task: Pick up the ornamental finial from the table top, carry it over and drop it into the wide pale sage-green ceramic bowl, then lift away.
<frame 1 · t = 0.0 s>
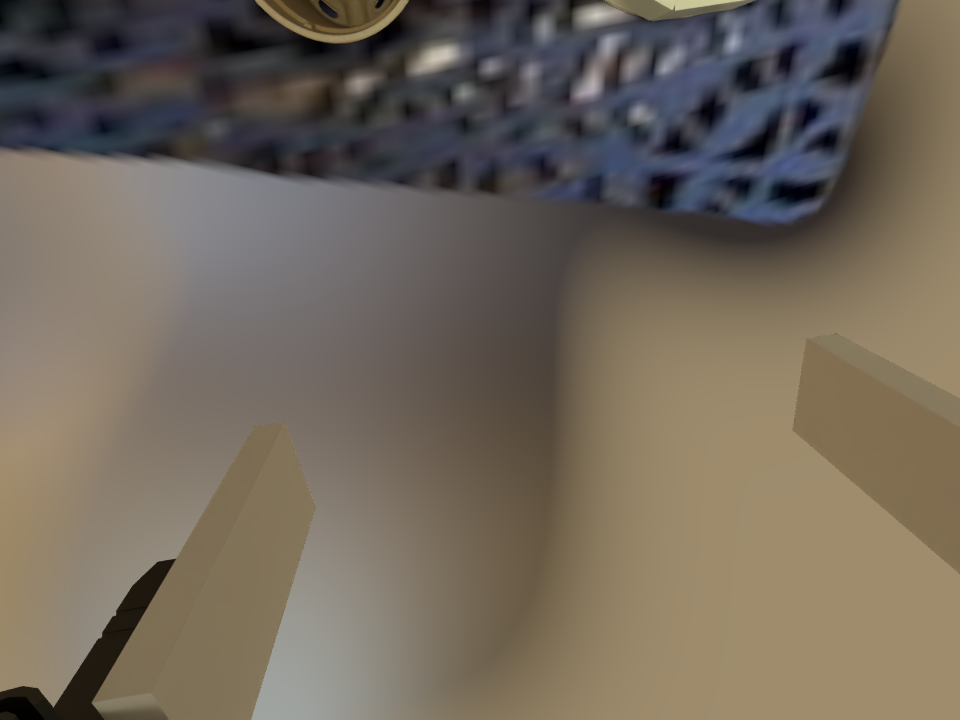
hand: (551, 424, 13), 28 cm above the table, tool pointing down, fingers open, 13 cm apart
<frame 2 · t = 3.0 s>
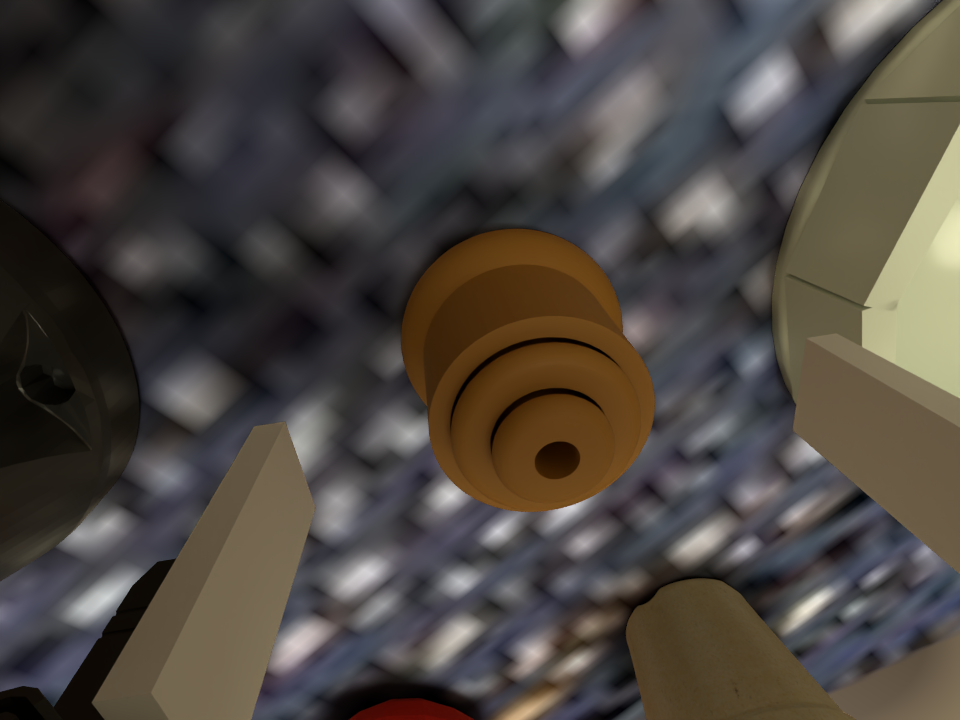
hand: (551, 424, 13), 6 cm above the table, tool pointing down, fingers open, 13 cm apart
ornamental finial: (506, 325, 19), on the table
flower pot: (682, 614, 27), on the table
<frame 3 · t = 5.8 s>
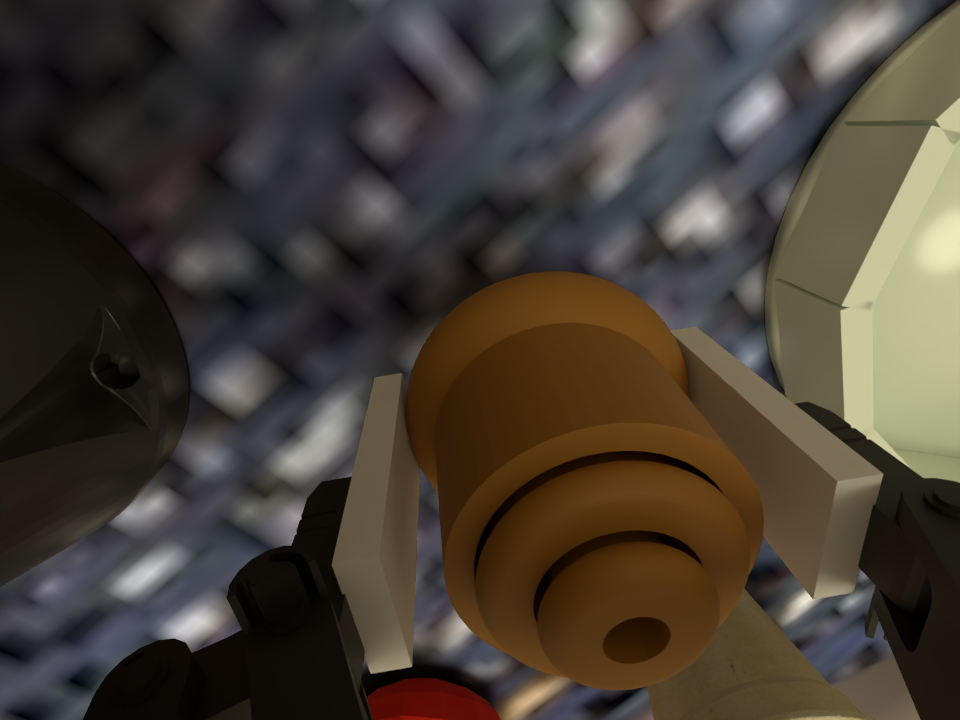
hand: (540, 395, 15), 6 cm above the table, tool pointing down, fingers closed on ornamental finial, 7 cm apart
ornamental finial: (536, 384, 15), point 6 cm above the table, touching gripper
tomato: (414, 714, 30), on the table
flower pot: (685, 602, 28), on the table
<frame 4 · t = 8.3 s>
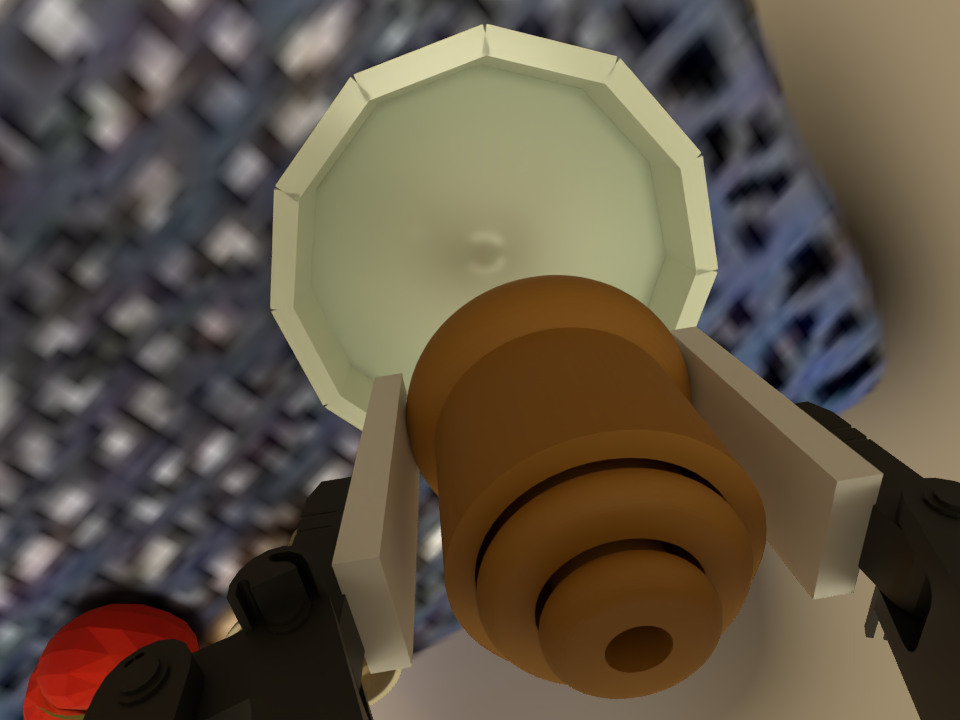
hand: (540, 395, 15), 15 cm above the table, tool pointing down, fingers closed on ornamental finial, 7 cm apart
ornamental finial: (537, 388, 15), point 14 cm above the table, touching gripper
tomato: (143, 637, 38), on the table
bowl: (489, 265, 28), on the table
flower pot: (340, 541, 35), on the table
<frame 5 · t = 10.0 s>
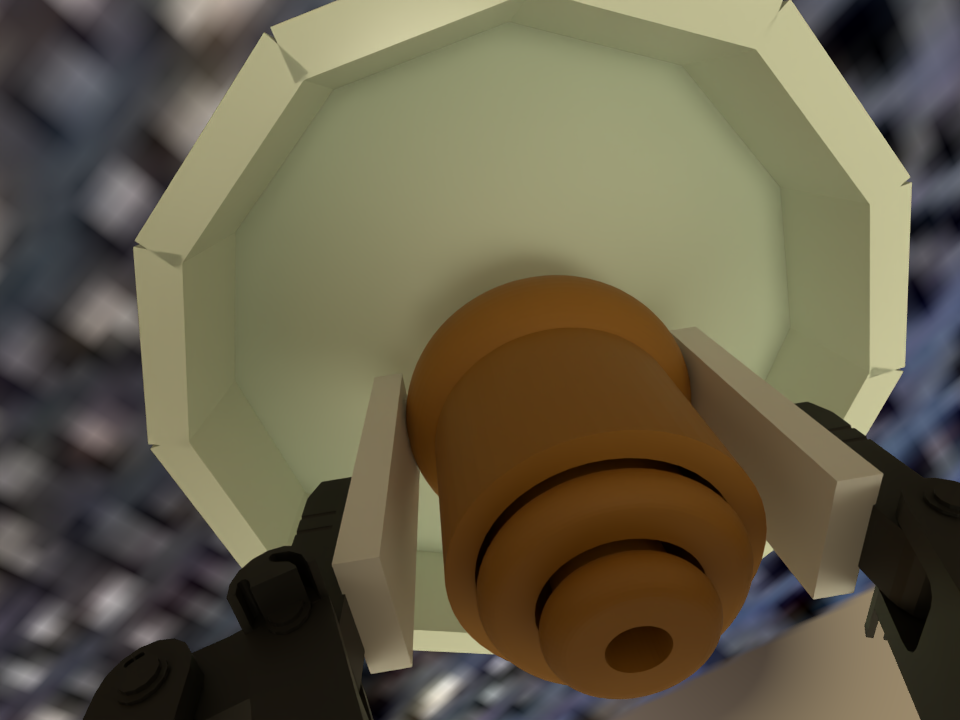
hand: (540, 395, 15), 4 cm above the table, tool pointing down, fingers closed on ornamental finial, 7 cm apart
ornamental finial: (537, 388, 15), point 3 cm above the table, touching gripper
bowl: (515, 341, 18), on the table
when the fingers open (2 cm above the table, at t = 11.2 s): ornamental finial stays where it is, resting on bowl.
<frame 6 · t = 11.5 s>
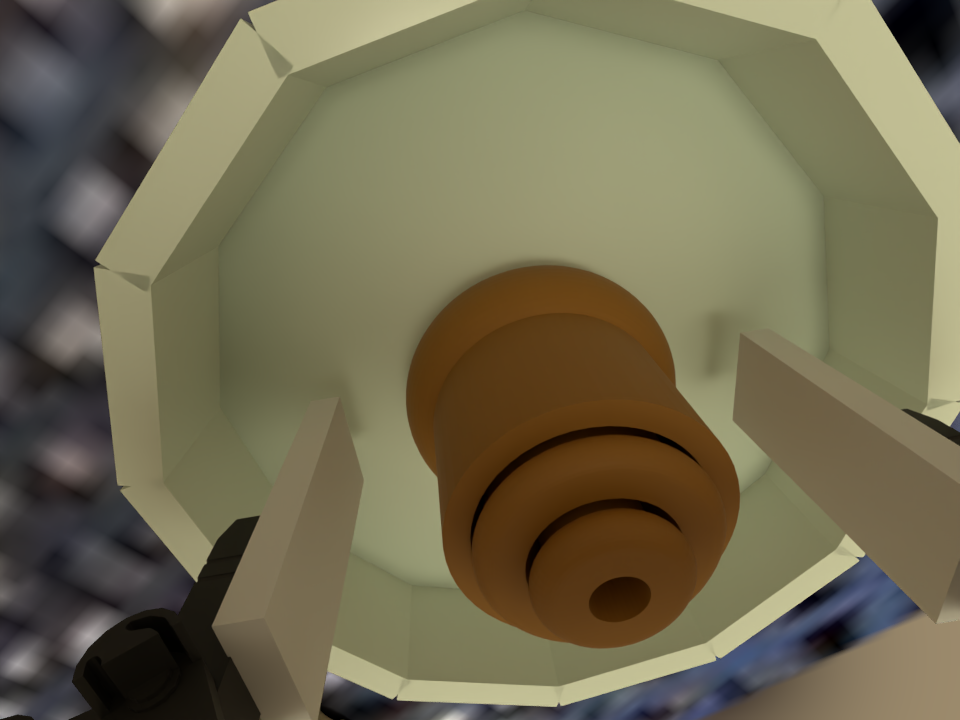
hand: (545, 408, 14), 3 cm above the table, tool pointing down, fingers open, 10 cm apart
ornamental finial: (531, 375, 16), point 1 cm above the table, touching bowl
bowl: (527, 363, 16), on the table
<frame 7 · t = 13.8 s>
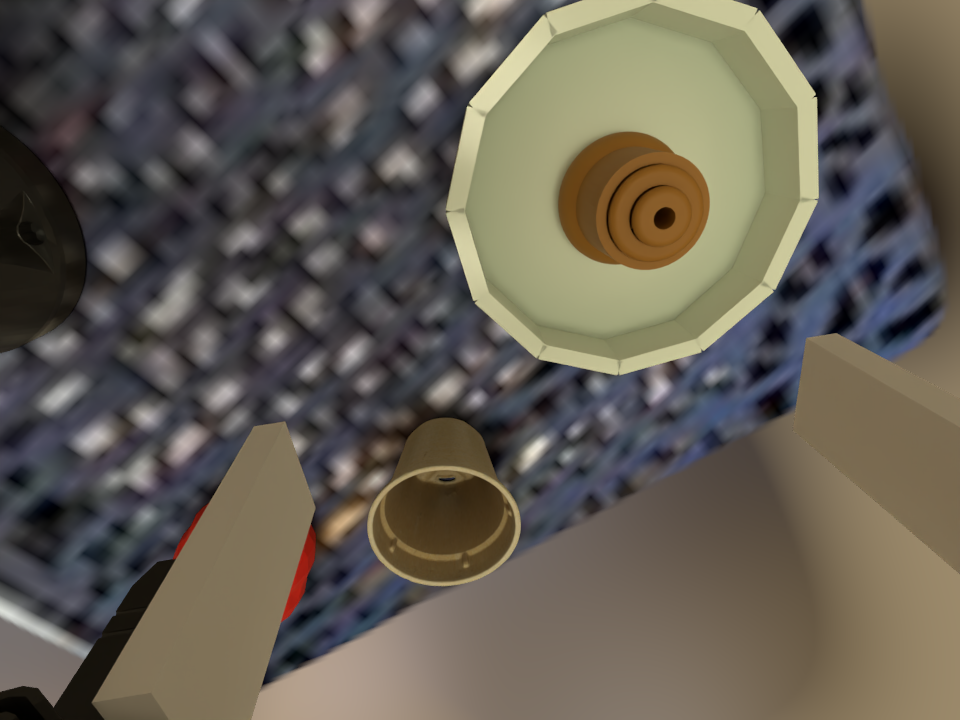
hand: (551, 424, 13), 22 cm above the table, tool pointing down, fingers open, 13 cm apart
ornamental finial: (614, 198, 32), point 1 cm above the table, touching bowl
tomato: (260, 530, 42), on the table
bowl: (611, 196, 32), on the table
flower pot: (446, 449, 40), on the table
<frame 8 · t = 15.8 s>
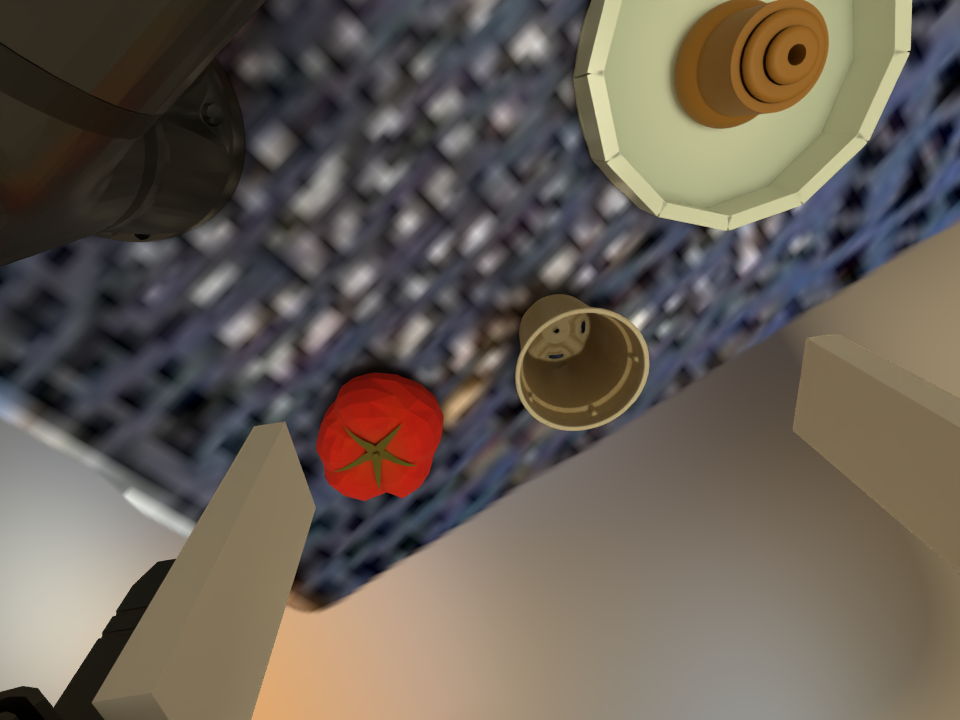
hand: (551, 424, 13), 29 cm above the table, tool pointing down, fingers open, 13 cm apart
ornamental finial: (720, 68, 35), point 1 cm above the table, touching bowl
tomato: (383, 416, 46), on the table
bowl: (715, 69, 36), on the table
flower pot: (555, 326, 43), on the table
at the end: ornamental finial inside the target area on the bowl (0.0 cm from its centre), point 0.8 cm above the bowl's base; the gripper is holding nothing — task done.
